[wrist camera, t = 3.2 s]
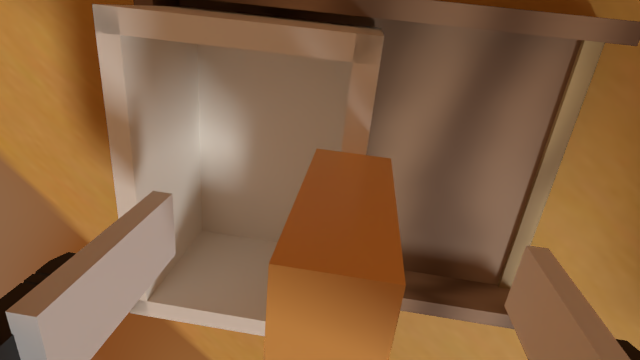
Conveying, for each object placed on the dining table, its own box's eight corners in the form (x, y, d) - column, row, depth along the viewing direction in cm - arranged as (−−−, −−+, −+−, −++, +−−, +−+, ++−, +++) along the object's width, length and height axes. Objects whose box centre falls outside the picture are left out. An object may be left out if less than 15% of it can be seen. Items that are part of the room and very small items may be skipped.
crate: (399, 30, 21) (455, 69, 7) (360, 260, 27) (345, 548, 13) (184, 6, 22) (-182, -4, 8) (193, 234, 28) (-1, 475, 14)
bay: (599, 20, 21) (646, 22, 17) (503, 289, 28) (523, 330, 25) (169, -25, 23) (130, -31, 19) (182, 239, 30) (156, 270, 26)
